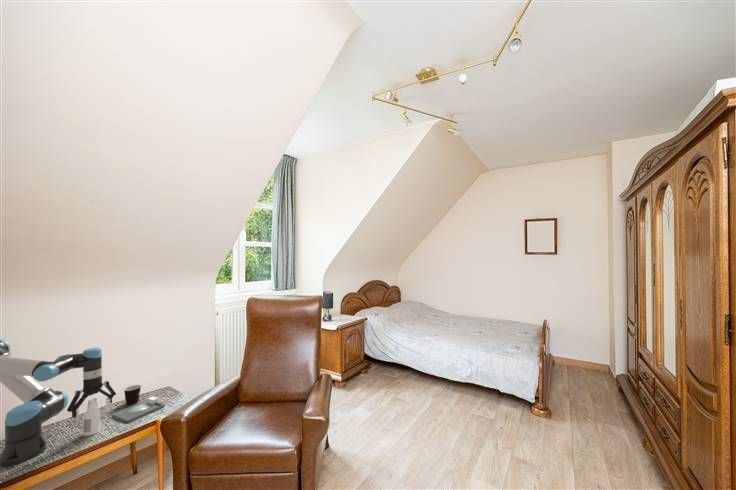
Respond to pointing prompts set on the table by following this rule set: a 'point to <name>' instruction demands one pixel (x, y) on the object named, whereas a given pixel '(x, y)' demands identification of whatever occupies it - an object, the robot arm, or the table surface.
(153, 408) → the charging dock
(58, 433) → the table surface
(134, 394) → the coffee mug
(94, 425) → the spray bottle
